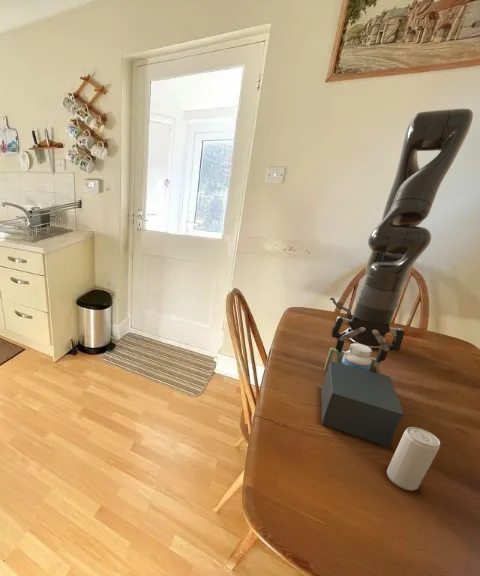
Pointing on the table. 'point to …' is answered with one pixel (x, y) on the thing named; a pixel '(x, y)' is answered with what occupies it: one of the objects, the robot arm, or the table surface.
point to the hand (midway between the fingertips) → (357, 355)
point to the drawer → (338, 357)
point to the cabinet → (360, 403)
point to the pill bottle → (357, 357)
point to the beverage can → (413, 458)
